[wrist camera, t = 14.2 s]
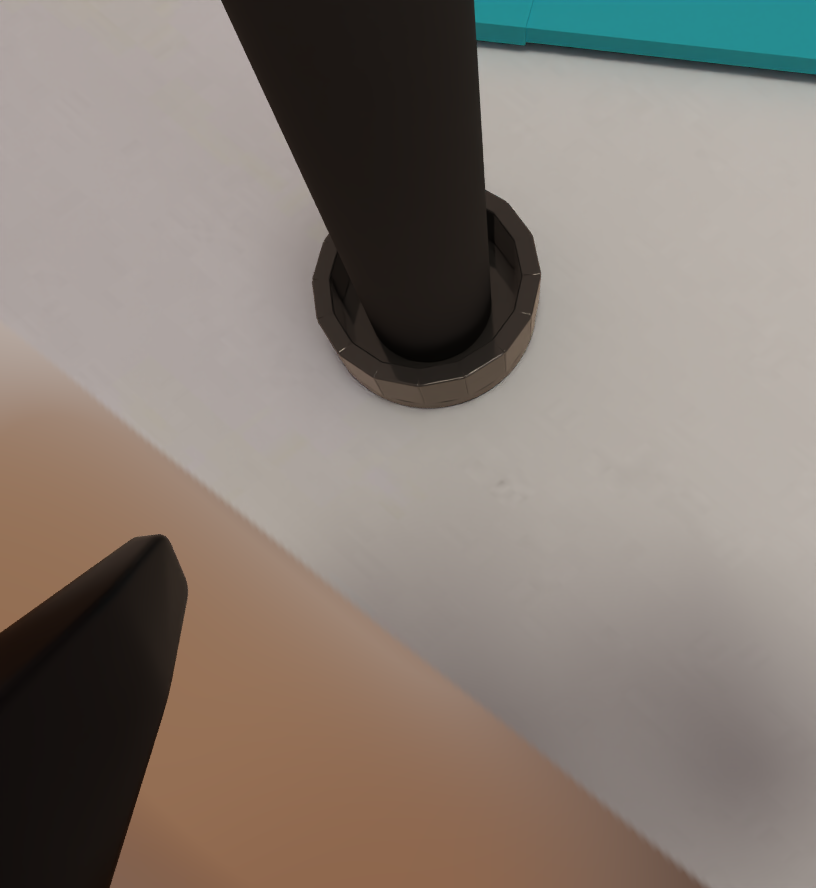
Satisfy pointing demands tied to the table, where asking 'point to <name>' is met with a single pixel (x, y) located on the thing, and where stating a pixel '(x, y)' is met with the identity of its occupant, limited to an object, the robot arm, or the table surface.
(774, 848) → the table surface
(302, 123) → the post
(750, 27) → the floppy disk
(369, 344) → the socket pad
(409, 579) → the table surface
